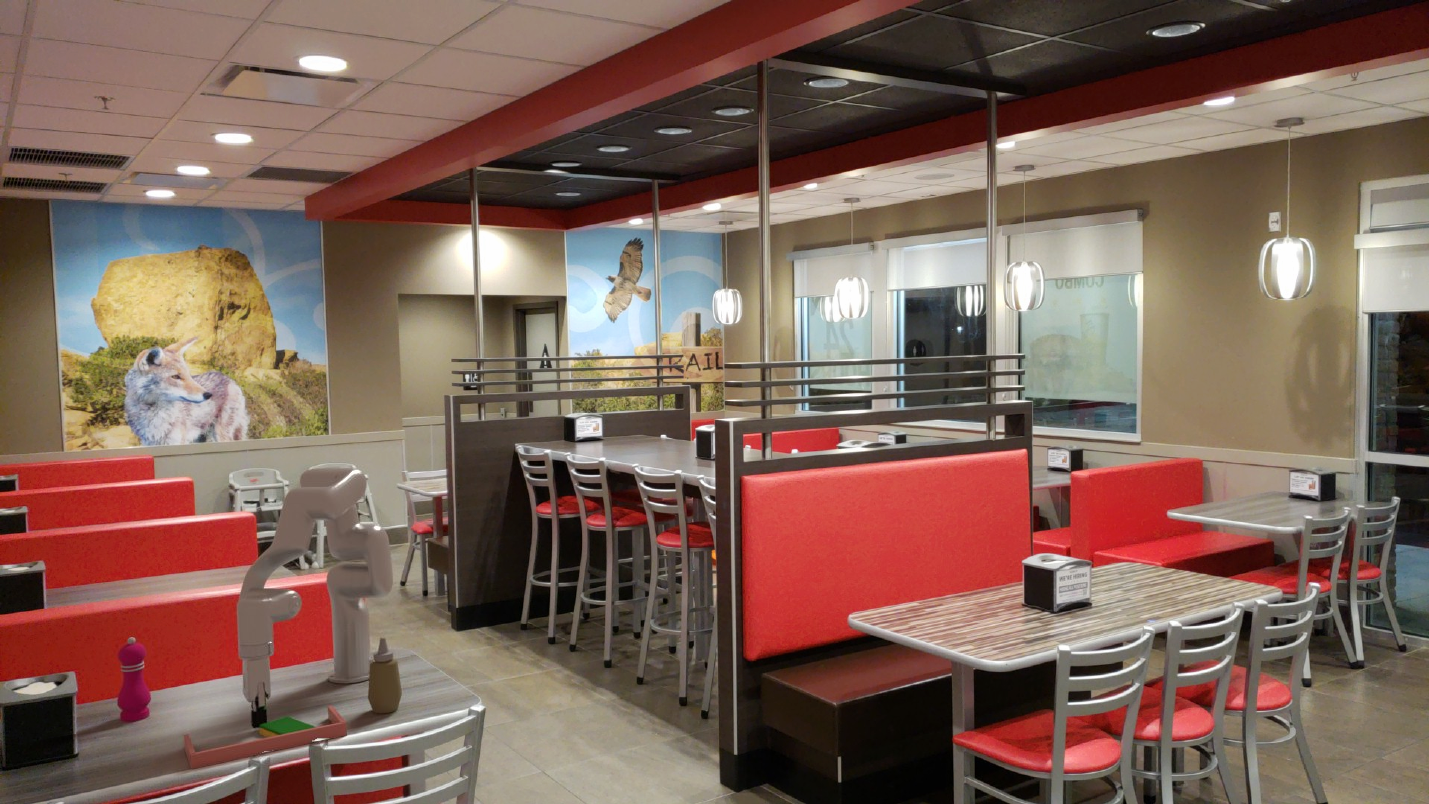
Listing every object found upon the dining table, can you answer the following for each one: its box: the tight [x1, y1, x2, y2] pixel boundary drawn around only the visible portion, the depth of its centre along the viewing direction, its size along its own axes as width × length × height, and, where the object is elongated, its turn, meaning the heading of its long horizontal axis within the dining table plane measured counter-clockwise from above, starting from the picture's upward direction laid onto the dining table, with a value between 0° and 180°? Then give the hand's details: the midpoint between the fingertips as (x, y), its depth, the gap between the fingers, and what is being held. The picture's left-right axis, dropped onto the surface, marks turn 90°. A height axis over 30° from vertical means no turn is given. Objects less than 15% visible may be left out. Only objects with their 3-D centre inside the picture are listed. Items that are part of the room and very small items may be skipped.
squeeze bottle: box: [367, 637, 403, 714], centre depth 247 cm, size 8×8×18 cm
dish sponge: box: [258, 716, 317, 738], centre depth 232 cm, size 7×14×2 cm, turn 52°
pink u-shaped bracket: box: [183, 705, 348, 770], centre depth 228 cm, size 32×14×3 cm, turn 123°
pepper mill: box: [116, 636, 152, 723], centre depth 246 cm, size 7×7×20 cm
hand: (259, 726), depth 236 cm, fingers closed
